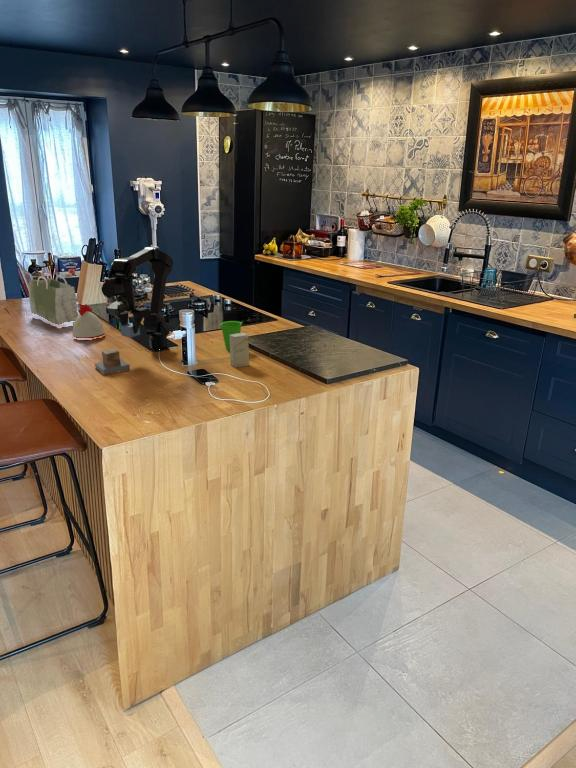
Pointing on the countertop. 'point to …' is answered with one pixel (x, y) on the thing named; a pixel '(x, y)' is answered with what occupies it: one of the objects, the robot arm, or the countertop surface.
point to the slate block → (129, 330)
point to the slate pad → (112, 367)
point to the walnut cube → (111, 357)
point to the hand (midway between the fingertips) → (130, 332)
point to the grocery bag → (53, 300)
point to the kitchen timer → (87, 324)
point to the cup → (230, 331)
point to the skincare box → (239, 350)
